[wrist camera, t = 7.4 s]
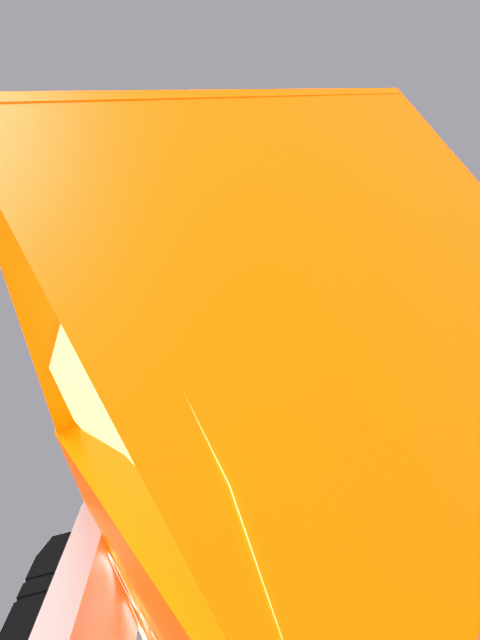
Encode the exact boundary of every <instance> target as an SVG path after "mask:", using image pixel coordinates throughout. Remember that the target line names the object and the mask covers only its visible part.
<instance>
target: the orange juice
mask: <svg viewBox="0 0 480 640" xmlns="http://www.w3.org/2000/svg"><path fill="white" fill-rule="evenodd" d="M0 266H1V269H2V272H3V275H4V278H5V280H6V284H7V286H8V290H9V292H10V295H11V298H12V301H13V304H14V307H15V310H16V313H17V316H18V319H19V322H20V325H21V328H22V330H23V334H24V337H25V340H26V343H27V345H28V348H29V351H30V354H31V357H32V360H33V363H34V366H35V369H36V372H37V375H38V378H39V381H40V384H41V387H42V390H43V393H44V396H45V398H46V402H47V405H48V407H49V410H50V414H51V417H52V419H53V422H54V425H55V428H56V432H55V435H56V437H57V439H58V442H59V444H60V446H61V449H62V451H63V453H64V455H65V458H66V460H67V462H68V465H69V467H70V469H71V472H72V474H73V476H74V478H75V481H76V483H77V485H78V488H79V490H80V492H81V494H82V497H83V499H84V501H85V504H86V506H87V508H88V510H89V511H90V513H91V515H92V516H93V518H94V520H95V521H96V523H97V525H98V527H99V528H100V530H101V532H102V534H103V536H104V538H105V541H106V543H107V545H108V548H109V550H110V552H111V554H112V557H113V559H114V561H115V563H114V564H116V565H115V566H116V568H117V569H118V571H119V573H120V575H121V578H122V580H123V582H124V584H125V587H126V589H127V591H128V594H129V596H130V598H131V599H130V598H129V599H130V601H131V602H132V604H133V606H134V608H135V610H136V612H137V614H138V617H139V622H138V630H139V632H140V634H141V636H142V639H143V640H480V183H479V182H478V181H477V179H476V178H475V177H474V176H473V175H472V174H471V173H470V172H469V170H468V169H467V168H466V167H465V166H464V165H463V163H462V162H461V161H460V160H459V159H458V158H457V156H455V154H454V153H453V152H452V151H451V150H450V149H449V147H448V146H447V145H446V144H445V143H444V142H443V140H442V139H441V138H440V137H439V136H438V135H437V134H436V132H435V131H434V130H433V129H432V128H431V127H430V125H429V124H428V123H427V122H426V121H425V120H424V119H423V117H422V116H421V115H420V114H419V113H418V112H417V110H416V109H415V108H414V107H413V106H412V105H411V104H410V102H409V101H408V100H407V99H406V98H405V97H404V96H403V94H402V93H401V92H400V91H399V90H398V89H397V88H357V89H356V88H353V89H351V88H348V89H346V88H345V89H231V90H125V91H124V90H118V91H4V92H0ZM108 555H109V558H110V560H111V559H112V557H111V556H110V554H109V553H108ZM113 559H112V560H111V562H112V561H113ZM114 561H113V562H114ZM112 565H113V563H112ZM113 567H114V565H113ZM114 569H115V568H114ZM115 571H116V570H115ZM116 573H117V572H116ZM117 575H118V574H117ZM118 577H119V576H118ZM119 579H120V578H119ZM123 587H124V586H123ZM124 589H125V588H124ZM125 591H126V590H125ZM126 593H127V592H126ZM128 594H127V595H128ZM129 596H128V597H129ZM128 601H129V600H128ZM129 603H130V602H129ZM130 605H131V604H130ZM131 608H132V606H131ZM132 610H133V609H132ZM133 612H134V611H133ZM134 615H135V613H134ZM135 617H136V616H135ZM136 619H137V618H136ZM137 621H138V620H137Z"/></svg>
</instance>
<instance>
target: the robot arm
mask: <svg viewBox="0 0 480 640" xmlns="http://www.w3.org/2000/svg"><path fill="white" fill-rule="evenodd" d="M108 553H109V554H110V556H111V557H112V554H111V552H110V550H109V548H108V545H107V543H106V541H105V538H104V536H103V534H102V532H101V530H100V528H99V527H98V525H97V523H96V521H95V520H94V518H93V516H92V515H91V513H90V511H89V510H88V508H87V506H86V504H85V501H84V502H83V504H82V506H81V509H80V511H79V514H78V516H77V519H76V521H75V524H74V527H73V529H72V531H71V532H68V533H64V534H60V535H56V536H53V537H52V538H51V539H50V540H49V542H48V543H47V544H46V545H45V547H44V548H43V549H42V550H41V551H40V553H39V554H38V555H37V556H36V558H35V560H34V562H33V564H32V566H31V568H30V571H29V573H28V575H27V577H26V583H24V584H23V585H22V588H21V590H20V592H19V594H18V596H17V602H15V603H14V604H13V606H12V609H11V611H10V613H9V615H8V617H7V619H6V621H5V623H4V626H3V628H2V630H1V632H0V640H136V637H137V630H138V622H139V617H138V614H137V612H136V610H135V608H134V606H133V604H132V602H131V601H130V599H131V598H130V596H129V594H128V591H127V589H126V587H125V584H124V582H123V580H122V578H121V575H120V573H119V571H118V569H117V568H116V566H115V565H116V564H114V563H115V561H114V559H113V557H112V559H113V561H114V562H113V561H112V562H111V560H112V559H111V560H110V558H109V555H108ZM112 563H113V565H114V567H113V565H112ZM114 568H115V569H114ZM115 570H116V571H115ZM116 572H117V573H116ZM117 574H118V575H117ZM118 576H119V577H118ZM119 578H120V579H119ZM123 586H124V587H123ZM124 588H125V589H124ZM125 590H126V591H125ZM126 592H127V593H126ZM127 594H128V595H127ZM128 596H129V597H128ZM129 598H130V599H129ZM128 600H129V601H128ZM129 602H130V603H129ZM130 604H131V605H130ZM131 606H132V608H131ZM132 609H133V610H132ZM133 611H134V612H133ZM134 613H135V615H134ZM135 616H136V617H135ZM136 618H137V619H136ZM137 620H138V621H137Z"/></svg>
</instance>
